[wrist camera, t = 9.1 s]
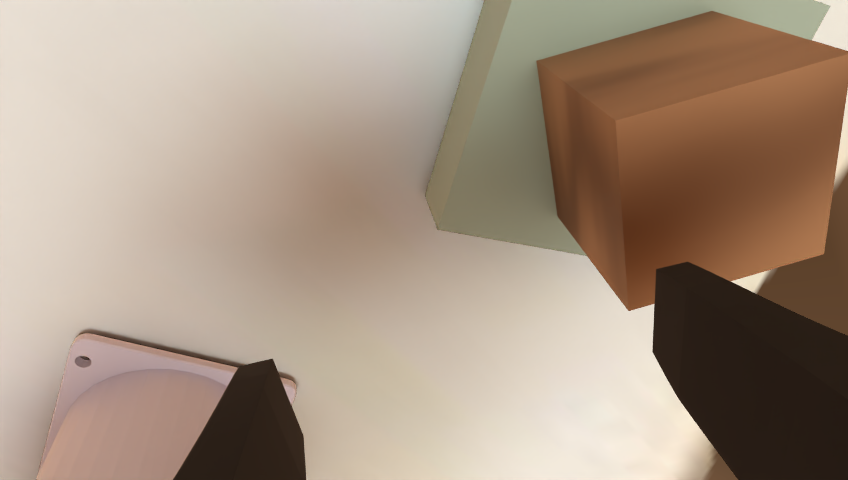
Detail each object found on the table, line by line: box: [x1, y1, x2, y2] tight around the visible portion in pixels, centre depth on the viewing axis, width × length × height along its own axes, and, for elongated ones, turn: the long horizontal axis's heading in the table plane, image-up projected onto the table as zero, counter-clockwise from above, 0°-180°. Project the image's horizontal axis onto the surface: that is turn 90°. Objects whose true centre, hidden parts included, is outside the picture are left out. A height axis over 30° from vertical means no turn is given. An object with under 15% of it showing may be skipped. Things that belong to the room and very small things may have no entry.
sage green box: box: [425, 0, 830, 256], centre depth 19 cm, size 9×9×3 cm
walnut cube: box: [536, 11, 848, 311], centre depth 16 cm, size 5×5×5 cm
